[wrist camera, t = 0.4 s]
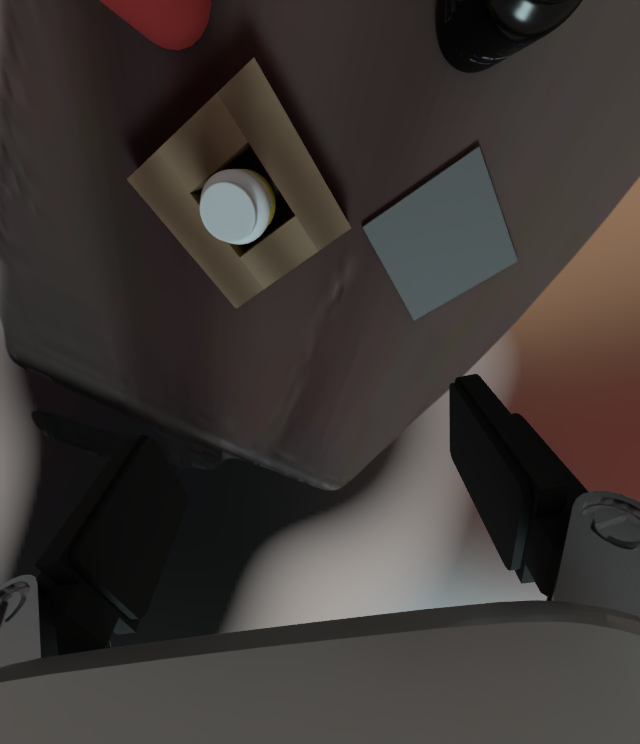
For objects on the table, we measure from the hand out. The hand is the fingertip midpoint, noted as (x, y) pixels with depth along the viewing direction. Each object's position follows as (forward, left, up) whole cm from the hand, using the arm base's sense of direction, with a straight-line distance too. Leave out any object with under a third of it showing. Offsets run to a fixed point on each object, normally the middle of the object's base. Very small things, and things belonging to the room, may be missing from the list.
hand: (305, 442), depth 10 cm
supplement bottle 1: (+2, -7, -28) cm, 29 cm away
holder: (+2, -7, -28) cm, 29 cm away
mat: (-12, +7, -28) cm, 31 cm away
